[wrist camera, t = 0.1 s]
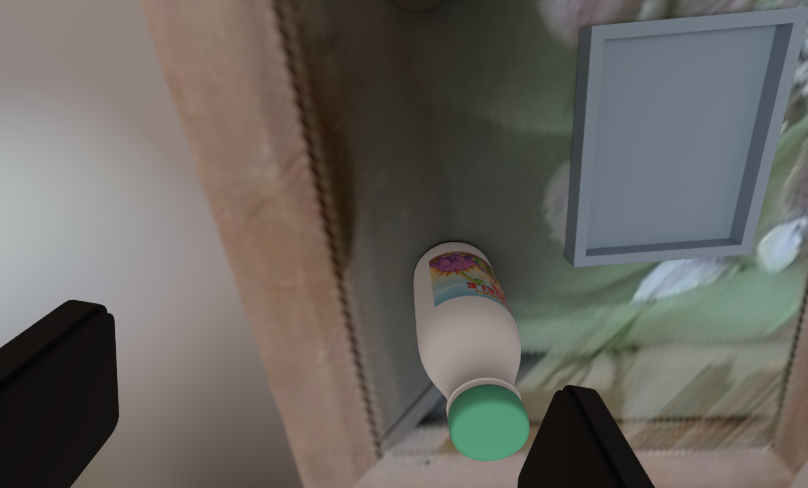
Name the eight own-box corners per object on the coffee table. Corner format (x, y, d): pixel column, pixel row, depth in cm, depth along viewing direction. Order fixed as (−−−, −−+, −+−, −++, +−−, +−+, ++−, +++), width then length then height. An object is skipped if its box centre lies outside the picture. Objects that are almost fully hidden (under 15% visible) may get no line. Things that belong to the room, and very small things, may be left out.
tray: (579, 28, 35) (592, 25, 32) (784, 10, 34) (811, 6, 32) (564, 256, 42) (573, 267, 40) (731, 244, 42) (750, 254, 40)
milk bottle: (462, 321, 45) (505, 500, 27) (398, 287, 43) (397, 453, 25) (506, 263, 42) (588, 416, 24) (440, 225, 41) (472, 357, 22)
